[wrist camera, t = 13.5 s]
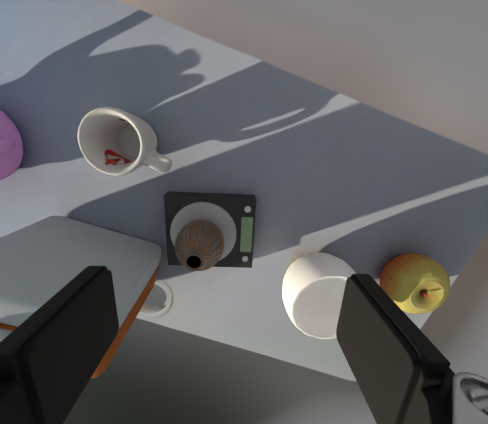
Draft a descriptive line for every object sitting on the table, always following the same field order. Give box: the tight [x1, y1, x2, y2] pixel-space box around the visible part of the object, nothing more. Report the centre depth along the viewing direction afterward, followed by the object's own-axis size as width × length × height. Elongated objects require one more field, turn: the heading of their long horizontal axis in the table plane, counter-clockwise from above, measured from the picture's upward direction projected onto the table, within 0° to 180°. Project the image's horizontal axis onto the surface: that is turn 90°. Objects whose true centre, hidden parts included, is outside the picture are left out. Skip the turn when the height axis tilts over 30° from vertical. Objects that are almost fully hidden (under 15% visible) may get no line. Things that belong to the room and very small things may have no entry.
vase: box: [175, 219, 224, 271], centre depth 34 cm, size 7×7×9 cm
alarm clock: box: [0, 216, 162, 378], centre depth 32 cm, size 18×9×21 cm, turn 71°
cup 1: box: [78, 107, 172, 175], centre depth 33 cm, size 11×8×8 cm
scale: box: [164, 192, 256, 268], centre depth 40 cm, size 12×14×3 cm
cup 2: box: [282, 253, 357, 339], centre depth 39 cm, size 12×12×10 cm
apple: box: [380, 253, 450, 313], centre depth 40 cm, size 10×10×8 cm
